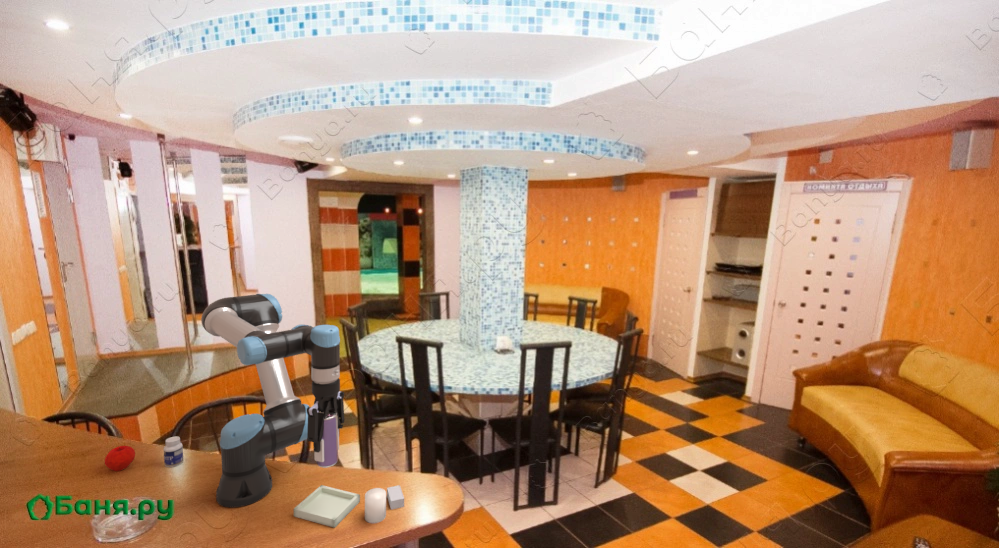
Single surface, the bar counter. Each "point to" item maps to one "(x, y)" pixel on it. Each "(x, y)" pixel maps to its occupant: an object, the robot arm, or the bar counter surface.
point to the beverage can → (330, 440)
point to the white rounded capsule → (375, 505)
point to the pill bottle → (173, 452)
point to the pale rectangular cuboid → (395, 497)
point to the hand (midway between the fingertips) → (327, 454)
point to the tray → (327, 506)
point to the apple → (120, 458)
